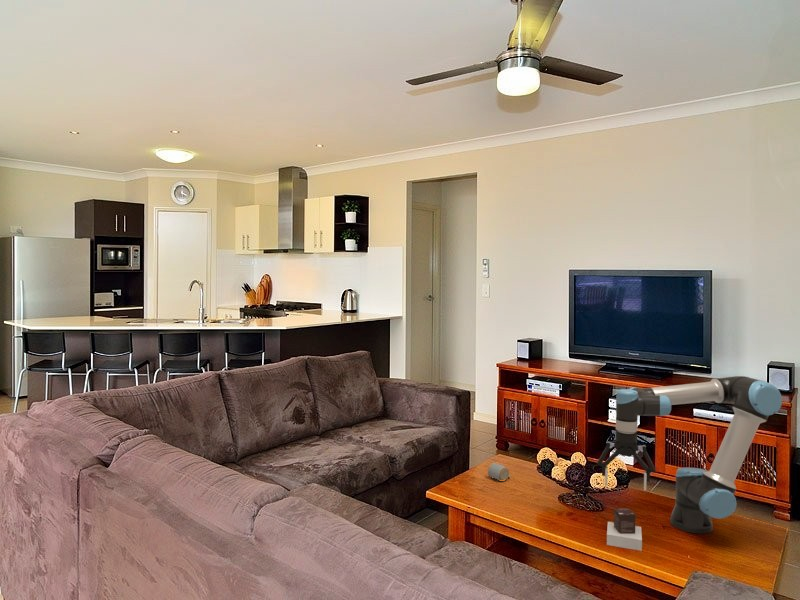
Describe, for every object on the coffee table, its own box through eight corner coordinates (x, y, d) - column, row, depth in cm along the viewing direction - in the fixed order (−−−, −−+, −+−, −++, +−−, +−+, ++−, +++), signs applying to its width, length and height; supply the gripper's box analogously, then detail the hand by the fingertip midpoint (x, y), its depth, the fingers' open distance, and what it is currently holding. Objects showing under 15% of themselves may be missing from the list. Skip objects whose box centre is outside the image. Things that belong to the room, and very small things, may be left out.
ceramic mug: (500, 483, 270) (500, 468, 270) (487, 479, 277) (487, 463, 277) (514, 479, 277) (514, 464, 277) (501, 474, 283) (501, 459, 283)
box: (629, 526, 214) (629, 508, 214) (635, 534, 208) (636, 514, 208) (613, 526, 214) (613, 507, 214) (619, 533, 208) (619, 514, 208)
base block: (640, 537, 214) (641, 526, 214) (641, 550, 203) (641, 540, 203) (607, 531, 219) (607, 521, 219) (606, 544, 208) (606, 534, 208)
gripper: (662, 432, 209) (661, 488, 209) (591, 425, 218) (591, 479, 219) (663, 437, 202) (662, 495, 202) (590, 430, 211) (589, 485, 212)
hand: (625, 487), depth 211 cm, fingers open, 13 cm apart
